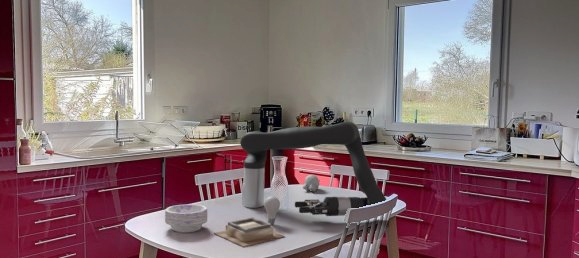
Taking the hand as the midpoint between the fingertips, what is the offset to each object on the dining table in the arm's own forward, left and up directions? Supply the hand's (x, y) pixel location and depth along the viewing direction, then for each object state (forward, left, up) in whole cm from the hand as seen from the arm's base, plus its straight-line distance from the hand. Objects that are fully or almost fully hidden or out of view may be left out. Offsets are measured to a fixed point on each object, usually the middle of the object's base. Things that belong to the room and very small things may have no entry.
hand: (297, 207), depth 185 cm
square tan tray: (+1, -24, -7) cm, 24 cm away
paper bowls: (-19, -38, -7) cm, 43 cm away
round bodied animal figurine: (-40, +47, -7) cm, 62 cm away
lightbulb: (-5, -9, -7) cm, 12 cm away
